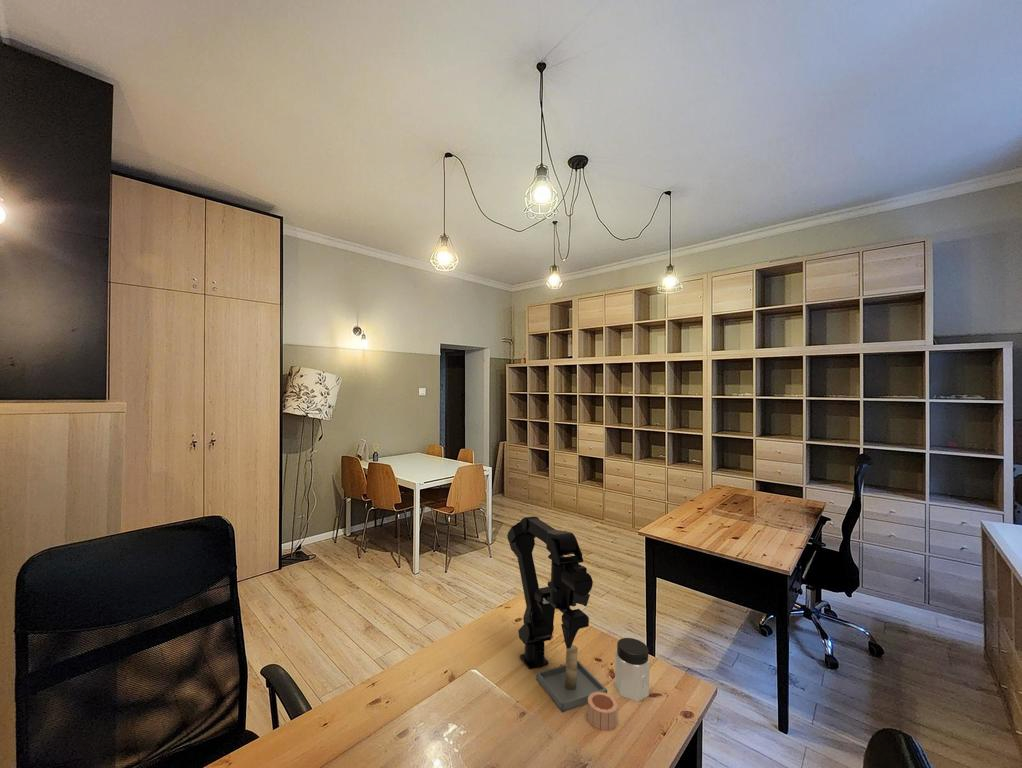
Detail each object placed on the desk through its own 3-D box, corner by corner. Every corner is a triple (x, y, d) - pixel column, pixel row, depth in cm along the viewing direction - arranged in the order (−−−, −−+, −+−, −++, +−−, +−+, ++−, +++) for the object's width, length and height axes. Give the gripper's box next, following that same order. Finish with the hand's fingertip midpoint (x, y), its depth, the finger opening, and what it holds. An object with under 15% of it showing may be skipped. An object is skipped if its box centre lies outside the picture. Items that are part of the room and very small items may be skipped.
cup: (581, 715, 101) (582, 696, 101) (604, 707, 104) (604, 689, 104) (599, 736, 94) (600, 716, 95) (623, 727, 97) (623, 707, 98)
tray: (536, 681, 112) (536, 672, 112) (578, 669, 118) (578, 660, 118) (561, 714, 101) (562, 704, 101) (607, 699, 107) (607, 689, 107)
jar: (632, 707, 104) (633, 659, 105) (608, 688, 111) (609, 642, 112) (654, 695, 109) (655, 649, 110) (630, 677, 116) (631, 634, 117)
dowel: (562, 684, 110) (564, 646, 111) (572, 681, 112) (573, 643, 112) (569, 691, 108) (570, 652, 108) (578, 688, 109) (579, 649, 109)
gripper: (606, 590, 107) (604, 651, 106) (567, 564, 124) (565, 617, 123) (571, 596, 102) (568, 661, 101) (534, 568, 119) (532, 624, 118)
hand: (559, 638), depth 111 cm, fingers open, 9 cm apart
